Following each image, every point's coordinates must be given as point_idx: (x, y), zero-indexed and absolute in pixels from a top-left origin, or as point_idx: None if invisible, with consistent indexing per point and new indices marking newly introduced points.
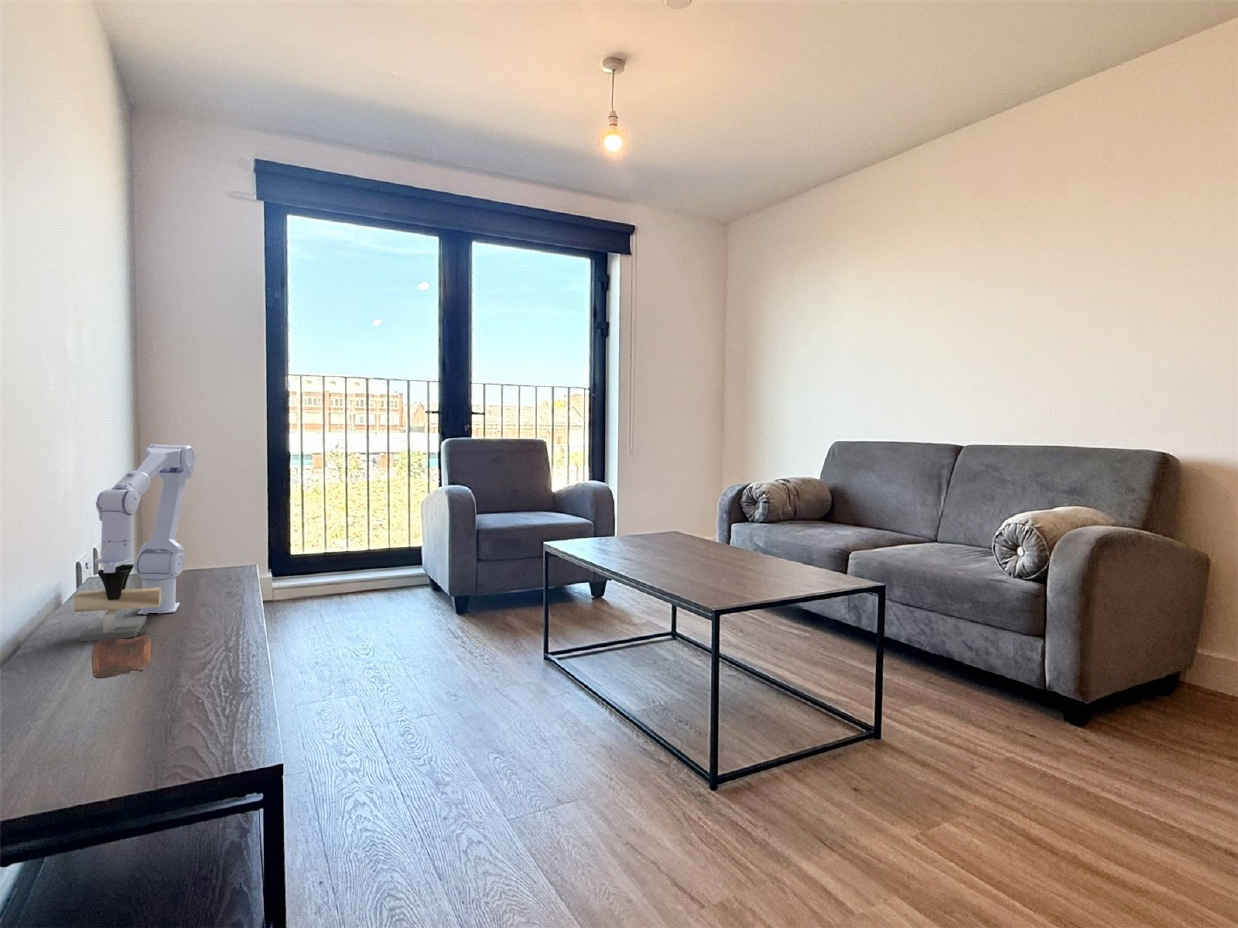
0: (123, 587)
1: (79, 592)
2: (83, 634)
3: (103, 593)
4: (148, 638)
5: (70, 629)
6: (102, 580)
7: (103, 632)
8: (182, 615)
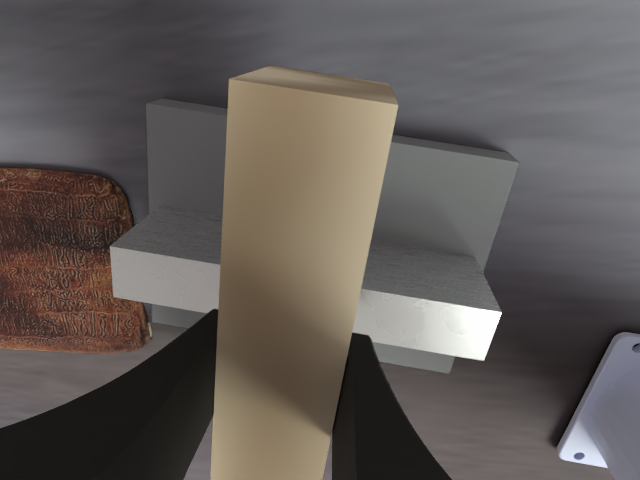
0: (332, 447)
1: (339, 119)
2: (151, 118)
3: (219, 312)
4: (79, 349)
5: (482, 22)
6: (55, 410)
7: (161, 206)
8: (488, 465)
